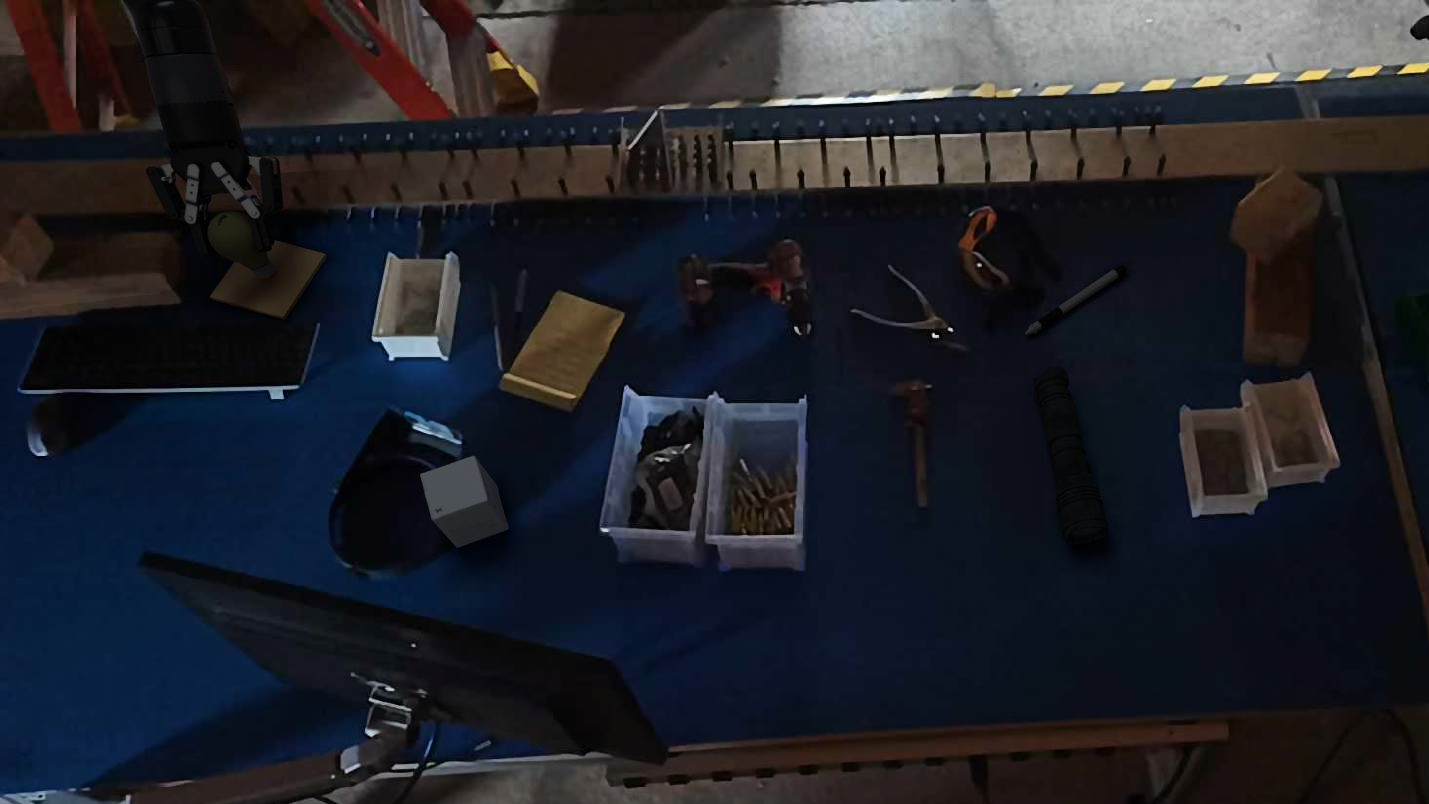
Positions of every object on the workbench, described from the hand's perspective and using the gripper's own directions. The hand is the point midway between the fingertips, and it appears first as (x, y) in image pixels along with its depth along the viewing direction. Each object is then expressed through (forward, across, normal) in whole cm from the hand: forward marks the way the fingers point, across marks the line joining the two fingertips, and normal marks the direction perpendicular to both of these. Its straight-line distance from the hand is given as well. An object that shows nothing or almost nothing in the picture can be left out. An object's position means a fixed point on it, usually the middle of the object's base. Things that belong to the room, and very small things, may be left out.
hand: (238, 253), depth 132 cm
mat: (+4, 0, +6) cm, 7 cm away
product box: (+29, +27, -19) cm, 44 cm away
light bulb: (+3, 0, +6) cm, 7 cm away
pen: (+14, +98, -4) cm, 99 cm away
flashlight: (+30, +93, -20) cm, 100 cm away
